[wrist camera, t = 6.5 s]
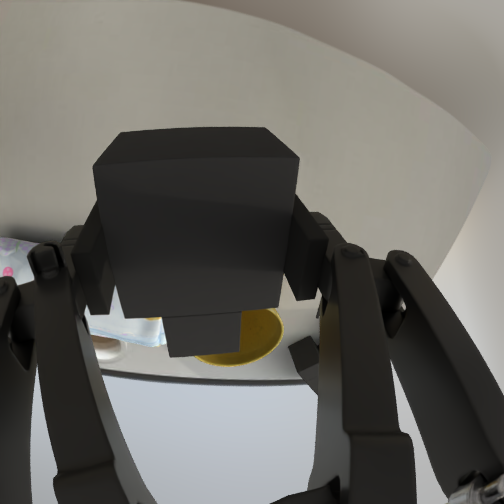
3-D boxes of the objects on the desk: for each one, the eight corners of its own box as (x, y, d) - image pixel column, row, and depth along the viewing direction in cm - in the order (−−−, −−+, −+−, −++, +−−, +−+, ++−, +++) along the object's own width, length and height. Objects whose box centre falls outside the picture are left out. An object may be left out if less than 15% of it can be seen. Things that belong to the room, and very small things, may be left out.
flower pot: (203, 331, 40) (209, 376, 34) (168, 276, 34) (168, 324, 28) (276, 306, 40) (292, 349, 34) (254, 245, 34) (270, 289, 28)
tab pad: (265, 127, 14) (300, 157, 10) (252, 287, 20) (271, 348, 16) (119, 132, 13) (91, 165, 9) (142, 294, 19) (137, 359, 14)
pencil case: (11, 283, 29) (-16, 340, 22) (-2, 220, 25) (-43, 274, 17) (170, 300, 36) (172, 366, 28) (178, 237, 31) (179, 302, 24)
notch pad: (359, 309, 44) (374, 333, 40) (371, 345, 51) (383, 367, 47) (288, 346, 45) (297, 373, 41) (312, 376, 52) (320, 399, 48)
